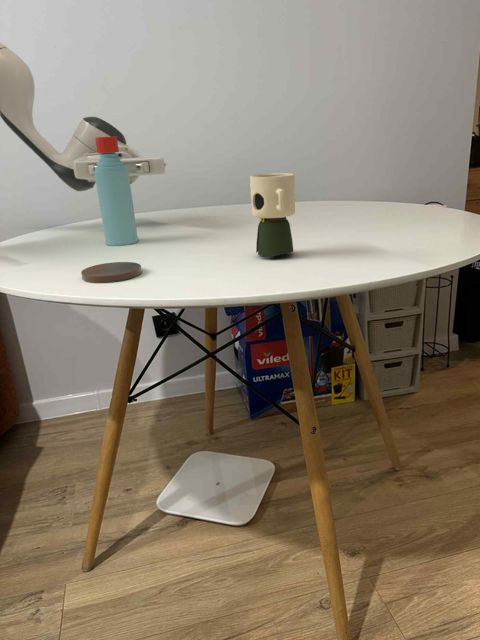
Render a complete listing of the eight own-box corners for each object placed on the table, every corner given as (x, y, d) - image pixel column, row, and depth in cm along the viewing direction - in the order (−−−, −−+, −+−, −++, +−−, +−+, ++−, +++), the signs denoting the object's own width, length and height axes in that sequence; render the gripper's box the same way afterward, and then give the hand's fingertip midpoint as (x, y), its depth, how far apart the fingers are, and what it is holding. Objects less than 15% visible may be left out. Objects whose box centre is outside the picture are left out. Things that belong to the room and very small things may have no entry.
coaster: (72, 276, 78) (70, 270, 78) (123, 265, 84) (122, 259, 83) (99, 286, 72) (98, 279, 72) (153, 273, 78) (152, 266, 77)
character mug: (247, 251, 89) (242, 174, 84) (285, 247, 91) (283, 171, 86) (263, 265, 79) (259, 178, 74) (305, 260, 81) (304, 175, 76)
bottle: (100, 243, 103) (82, 140, 95) (128, 238, 107) (113, 139, 99) (116, 247, 99) (99, 140, 91) (144, 241, 103) (130, 138, 95)
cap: (94, 153, 96) (91, 137, 95) (112, 152, 98) (110, 136, 97) (104, 153, 93) (101, 137, 92) (122, 151, 96) (120, 136, 95)
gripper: (167, 177, 124) (167, 181, 111) (82, 181, 121) (72, 187, 108) (164, 149, 121) (164, 151, 109) (77, 153, 118) (66, 155, 106)
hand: (117, 169), depth 108 cm, fingers open, 8 cm apart
